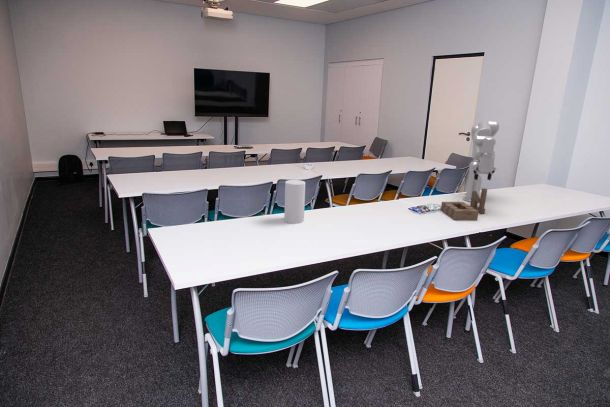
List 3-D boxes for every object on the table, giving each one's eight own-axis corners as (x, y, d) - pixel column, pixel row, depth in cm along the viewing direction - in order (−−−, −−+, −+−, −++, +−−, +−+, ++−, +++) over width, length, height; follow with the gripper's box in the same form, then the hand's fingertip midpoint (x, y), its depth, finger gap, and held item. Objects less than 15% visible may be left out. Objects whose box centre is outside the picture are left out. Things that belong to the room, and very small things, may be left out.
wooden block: (472, 209, 294) (476, 185, 289) (484, 213, 285) (488, 189, 279) (469, 209, 292) (473, 186, 287) (480, 214, 283) (485, 189, 278)
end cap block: (440, 210, 288) (441, 201, 287) (461, 210, 290) (463, 201, 288) (454, 220, 267) (456, 210, 266) (477, 220, 269) (478, 211, 267)
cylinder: (300, 216, 262) (301, 179, 255) (306, 222, 251) (308, 184, 244) (281, 217, 258) (282, 180, 251) (287, 224, 247) (288, 184, 240)
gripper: (477, 156, 272) (473, 180, 277) (501, 156, 274) (496, 181, 279) (471, 154, 279) (468, 178, 284) (495, 155, 281) (490, 178, 286)
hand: (482, 179), depth 281 cm, fingers open, 9 cm apart
